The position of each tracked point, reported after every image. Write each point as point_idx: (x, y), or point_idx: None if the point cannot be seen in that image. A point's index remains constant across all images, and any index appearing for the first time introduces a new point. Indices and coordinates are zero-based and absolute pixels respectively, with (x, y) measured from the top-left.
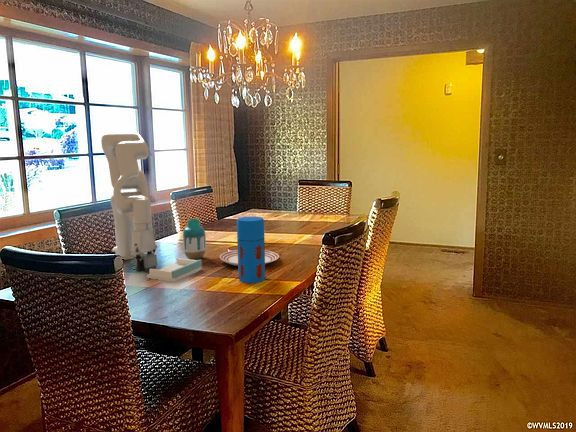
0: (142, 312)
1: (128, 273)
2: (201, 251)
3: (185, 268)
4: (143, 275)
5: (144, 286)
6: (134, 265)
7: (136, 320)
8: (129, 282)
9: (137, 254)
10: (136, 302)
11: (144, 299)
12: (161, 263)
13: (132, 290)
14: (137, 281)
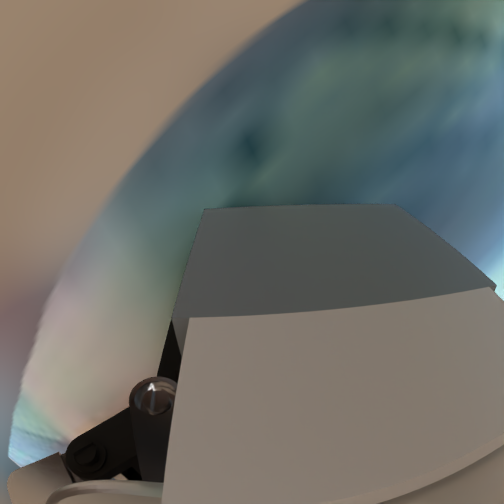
0: (21, 460)
1: (95, 221)
2: None
3: None
4: (146, 371)
5: (66, 435)
6: (203, 219)
7: (9, 457)
8: (26, 370)
9: (157, 479)
10: (17, 445)
11: (37, 454)
12: (490, 260)
13: (20, 417)
14: (63, 395)
